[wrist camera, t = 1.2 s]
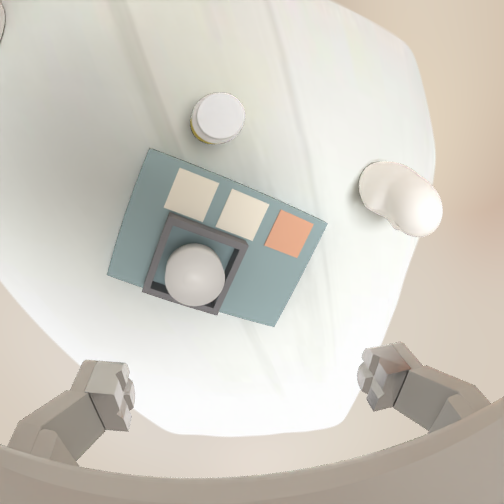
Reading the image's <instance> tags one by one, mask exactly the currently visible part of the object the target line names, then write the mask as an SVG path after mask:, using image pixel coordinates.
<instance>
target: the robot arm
mask: <svg viewBox="0 0 504 504" xmlns="http://www.w3.org/2000/svg"><path fill="white" fill-rule="evenodd" d="M4 24H5V12H4V8H3V6H2V4H1V1H0V39H1V36H2V33H3V29H4ZM362 359H363V361H364V362H363V363H362V364H361V365H360V366H359V369H358V373H357V380H358V384H359V387H360V389H361V390H362V391H363V392H365V393H367V394H368V395H367V401H368V403H369V405H370V406H371V408H372V409H373V411H378V410H382V409H386V408H390V407H393V408H394V409H396V410H398V411H399V412H400V413H402V414H404V415H405V416H407V417H408V418H410V419H411V420H413V421H414V422H416V423H418V424H419V425H420V426H422V427H424V428H425V429H426V430H428V431H429V432H428V433H427V434H426V435H423V436H421V437H418V438H415V439H413V440H410V441H407V442H404V443H402V444H399V445H396V446H393V447H390V448H387V449H383V450H380V451H377V452H374V453H370V454H367V455H363V456H359V457H356V458H352V459H348V460H344V461H340V462H335V463H331V464H326V465H321V466H316V467H311V468H306V469H301V470H293V471H287V472H280V473H272V474H263V475H252V476H240V477H222V478H171V477H170V478H169V477H153V476H140V475H131V474H121V473H114V472H107V471H100V470H95V469H89V468H84V467H79V465H78V464H77V462H76V461H77V460H78V459H79V458H80V457H81V456H82V455H83V454H84V453H85V451H86V450H87V449H89V448H90V446H91V445H92V444H93V443H94V442H95V441H96V440H97V439H98V438H99V437H100V436H101V435H102V434H103V433H104V432H105V430H114V431H129V427H130V422H131V414H130V410H131V409H132V408H133V407H134V403H135V390H134V385H133V382H132V381H131V380H130V379H129V378H128V377H129V373H130V371H129V368H128V365H127V364H126V363H121V362H108V361H94V360H85V361H83V363H82V365H81V367H80V369H79V372H78V374H77V376H76V378H75V381H74V383H73V385H72V387H71V389H70V391H68V390H66V391H64V392H63V393H61V394H60V395H58V396H57V397H55V398H54V399H52V400H51V401H49V402H48V403H46V404H45V405H43V406H42V407H40V408H39V409H37V410H35V411H34V412H33V413H31V414H29V415H28V416H26V417H25V418H23V419H22V420H20V421H19V422H18V425H17V427H16V429H15V431H14V433H13V435H12V437H11V440H10V442H9V444H8V446H4V445H1V444H0V504H504V397H502V398H501V399H499V400H497V401H495V402H493V403H492V404H491V403H490V402H489V401H488V399H487V398H486V397H485V396H484V395H483V394H482V393H481V391H479V389H478V388H477V387H476V386H475V385H473V384H470V383H468V382H465V381H463V380H460V379H458V378H456V377H453V376H450V375H448V374H446V373H443V372H441V371H439V370H436V369H434V368H431V367H429V366H427V365H426V366H423V365H422V364H421V363H420V362H419V361H418V359H417V358H416V357H415V356H414V355H413V354H412V352H411V351H410V350H409V349H408V348H407V347H406V345H405V344H404V343H402V342H396V343H392V344H389V345H383V346H377V347H372V348H366V349H365V350H364V351H363V354H362Z"/></svg>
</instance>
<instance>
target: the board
mask: <svg viewBox="0 0 504 504" xmlns="http://www.w3.org/2000/svg"><path fill="white" fill-rule="evenodd" d="M326 226H327V223H326V222H324V221H322V220H320V219H318V218H316V217H314V216H312V215H309V214H307V213H305V212H303V211H301V210H299V209H296V208H294V207H292V206H290V205H288V204H285V203H283V202H281V201H279V200H276V199H274V198H272V197H270V196H267V195H265V194H263V193H261V192H258V191H256V190H254V189H251V188H249V187H247V186H244V185H242V184H240V183H237V182H235V181H232V180H230V179H228V178H225V177H223V176H220V175H218V174H216V173H213V172H211V171H208V170H206V169H203V168H201V167H198V166H196V165H193V164H191V163H188V162H186V161H183V160H180V159H178V158H175V157H173V156H170V155H167V154H165V153H162V152H160V151H157V150H154V149H152V148H149V151H148V153H147V156H146V158H145V161H144V163H143V166H142V168H141V171H140V174H139V176H138V179H137V182H136V184H135V187H134V190H133V193H132V195H131V198H130V201H129V204H128V207H127V210H126V213H125V216H124V219H123V222H122V225H121V228H120V231H119V235H118V238H117V241H116V244H115V248H114V251H113V255H112V258H111V262H110V265H109V269H108V273H107V275H108V276H111V277H114V278H116V279H119V280H122V281H125V282H128V283H131V284H134V285H136V286H139V287H142V288H143V290H142V292H144V293H147V294H150V295H153V296H156V297H159V298H162V299H165V300H168V301H171V302H174V303H178V304H181V303H180V302H178V301H176V300H175V299H174V298H173V297H172V296H171V295H170V294H169V292H168V290H167V288H166V285H165V272H166V264H167V261H168V259H169V257H170V255H171V254H172V253H173V252H174V251H175V250H176V249H177V248H179V247H181V246H183V245H186V244H191V243H198V244H203V245H205V246H208V247H209V248H211V249H212V250H214V251H215V252H216V254H217V255H218V256H219V258H220V261H221V264H222V267H223V270H224V274H225V283H224V287H223V289H222V291H221V293H220V294H219V296H218V297H217V298H216V299H214V300H213V301H211V302H210V303H208V304H205V305H201V306H188V305H184V304H181V305H184V306H187V307H190V308H194V309H197V310H200V311H204V312H207V313H210V314H214V315H217V314H218V312H222V313H225V314H228V315H232V316H235V317H239V318H243V319H246V320H250V321H253V322H257V323H261V324H265V325H268V326H272V327H274V326H275V324H276V323H277V321H278V319H279V317H280V315H281V313H282V312H283V310H284V308H285V306H286V304H287V302H288V300H289V299H290V297H291V295H292V293H293V291H294V289H295V287H296V285H297V283H298V281H299V280H300V278H301V276H302V274H303V272H304V270H305V268H306V266H307V264H308V262H309V260H310V258H311V256H312V254H313V252H314V250H315V248H316V246H317V244H318V242H319V240H320V238H321V236H322V234H323V232H324V230H325V228H326Z"/></svg>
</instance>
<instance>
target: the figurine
mask: <svg viewBox="0 0 504 504" xmlns="http://www.w3.org/2000/svg"><path fill="white" fill-rule="evenodd" d="M359 193H360V196H361V198H362V201H363V204H364V205H365V207H366V208H367V209H369V210H371V211H373V212H374V213H376V214H378V215H380V216H383V217H384V218H386V219H387V220H388V221H389V222H390V223H391V225H392V226H393V228H394V229H396V230H401V231H402V232H403V233H405V234H407V235H410V236H414V237H424V236H427V235H429V234H431V233H432V232H433V231H435V230H436V228H437V227H438V226H439V224H440V222H441V219H442V215H443V207H442V201H441V198H440V196H439V194H438V192H437V191H436V190H435V189H434V187H433V186H432V185H431V184H430V183H429V182H428V181H427V180H426V179H425V178H423V177H422V176H420V175H419V174H418V173H417V172H415V171H414V170H413V169H411V168H409V167H407V166H405V165H403V164H399V163H395V162H376V163H373V164H370V165H369V166H367V167H366V168H365V169H364V171H363V172H362V174H361V176H360V179H359Z"/></svg>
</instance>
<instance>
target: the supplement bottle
mask: <svg viewBox="0 0 504 504" xmlns="http://www.w3.org/2000/svg"><path fill="white" fill-rule="evenodd" d="M244 122H245V109H244V106H243V104H242V103H241V102H240V100H239V99H238V98H236V97H235V96H233V95H231V94H228V93H212V94H209V95H206V96H204V97H203V98H202V99H200V100H199V101H198V102H197V104H196V105H195V107H194V109H193V112H192V115H191V119H190V127H191V131H192V133H193V134H194V136H195V137H196V138H197V139H198V140H200V141H201V142H204V143H207V144H222V143H226V142H229V141H231V140H232V139H234V138H235V137H236V136H237V135H238V134H239V133H240V131H241V129H242V127H243V124H244Z"/></svg>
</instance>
